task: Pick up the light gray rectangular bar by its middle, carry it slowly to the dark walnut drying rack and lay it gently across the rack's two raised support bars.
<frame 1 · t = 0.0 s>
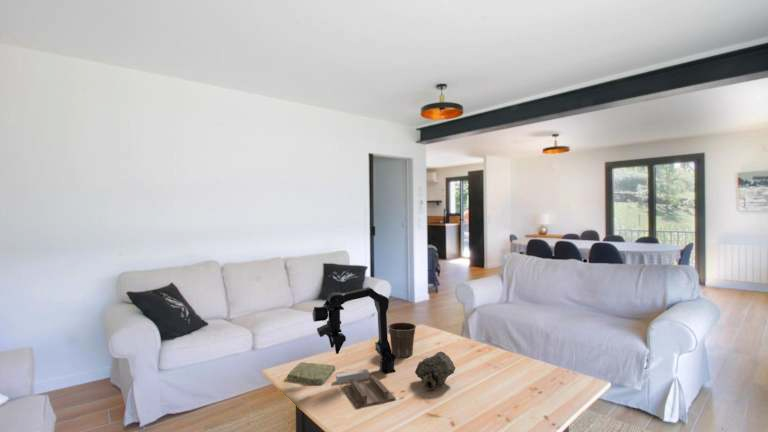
hand: (334, 350, 191), 15 cm above the table, tool pointing down, fingers open, 9 cm apart
walnut rack: (368, 393, 177), on the table
plant pot: (402, 354, 225), on the table
rock: (432, 385, 185), on the table
decorative tile: (311, 376, 197), on the table
light gray rectangular bar: (352, 380, 192), on the table
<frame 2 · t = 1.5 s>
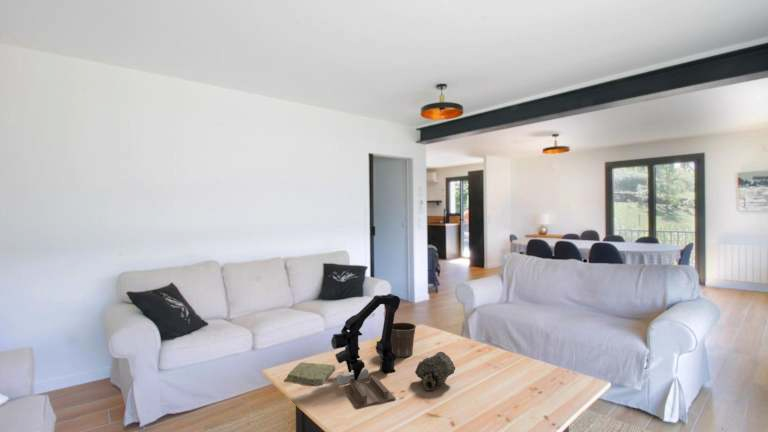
hand: (352, 376, 192), 2 cm above the table, tool pointing down, fingers open, 9 cm apart
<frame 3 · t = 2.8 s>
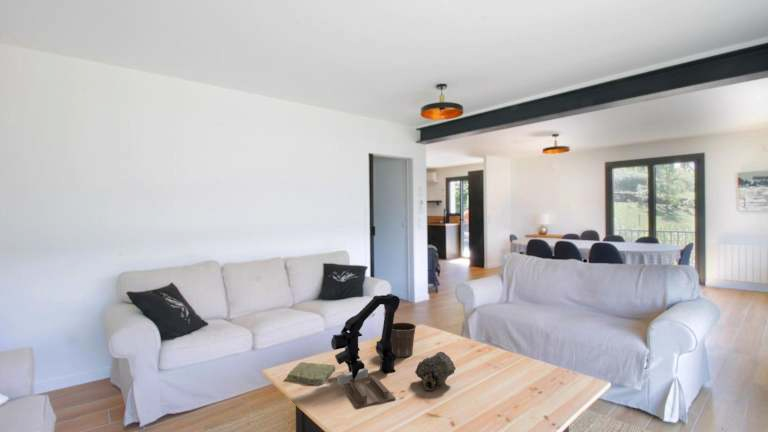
hand: (352, 377, 192), 1 cm above the table, tool pointing down, fingers closed on light gray rectangular bar, 4 cm apart
light gray rectangular bar: (352, 379, 192), on the table, touching gripper
everything else where it was.
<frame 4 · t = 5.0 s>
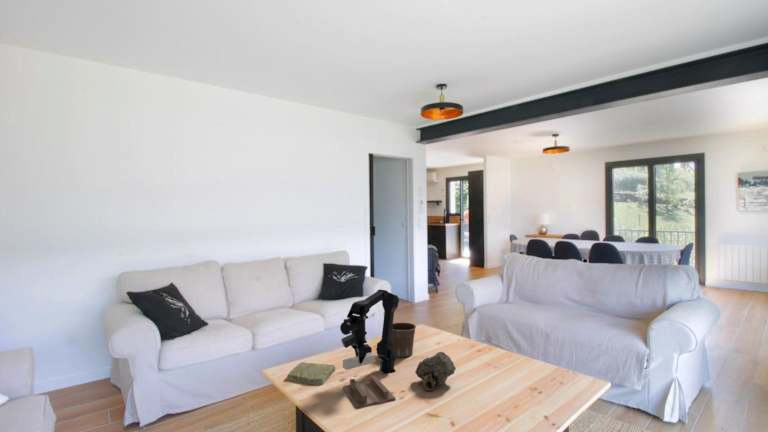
hand: (359, 362, 184), 12 cm above the table, tool pointing down, fingers closed on light gray rectangular bar, 4 cm apart
light gray rectangular bar: (359, 364, 184), point 10 cm above the table, touching gripper
everything else where it was.
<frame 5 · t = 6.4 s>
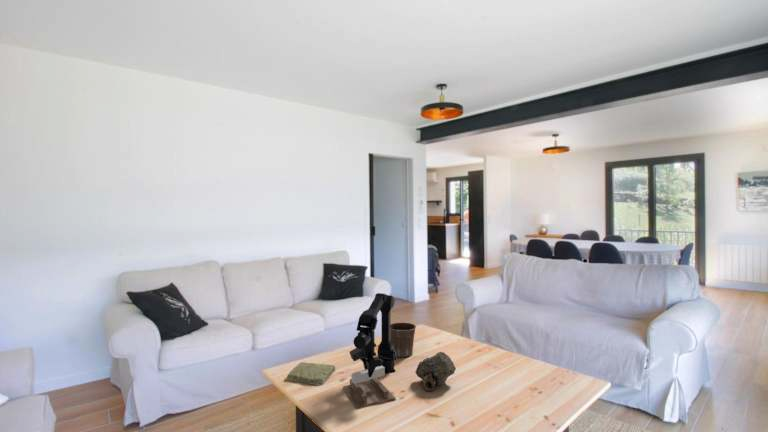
hand: (368, 375, 177), 9 cm above the table, tool pointing down, fingers closed on light gray rectangular bar, 4 cm apart
light gray rectangular bar: (368, 378, 177), point 7 cm above the table, touching gripper
everything else where it was.
when the fingers open (6 cm above the table, at t = 7.5 s): light gray rectangular bar drops 1 cm, resting on walnut rack.
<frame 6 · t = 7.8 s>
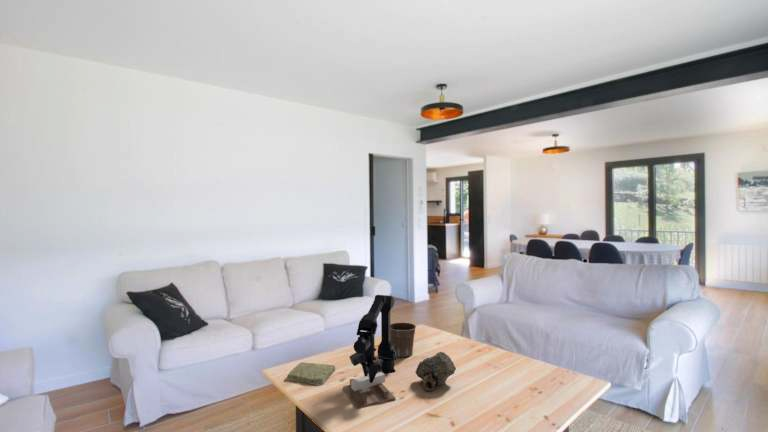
hand: (368, 379, 177), 6 cm above the table, tool pointing down, fingers open, 6 cm apart
light gray rectangular bar: (368, 385, 177), point 4 cm above the table, touching walnut rack
everything else where it was.
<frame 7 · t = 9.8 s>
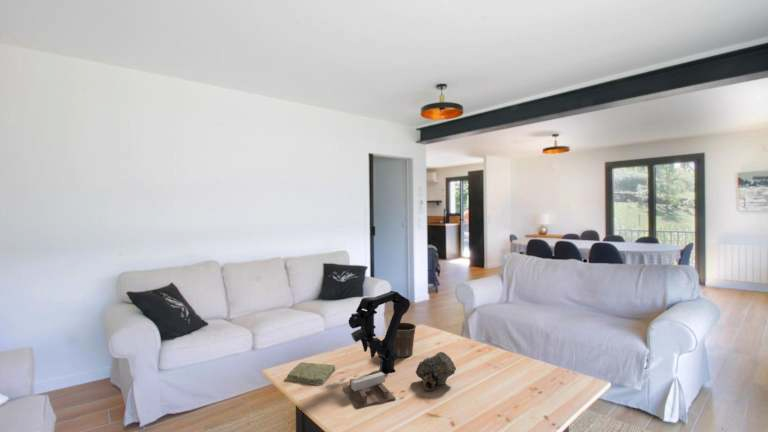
hand: (368, 354, 193), 12 cm above the table, tool pointing down, fingers open, 9 cm apart
nothing on the table moved.
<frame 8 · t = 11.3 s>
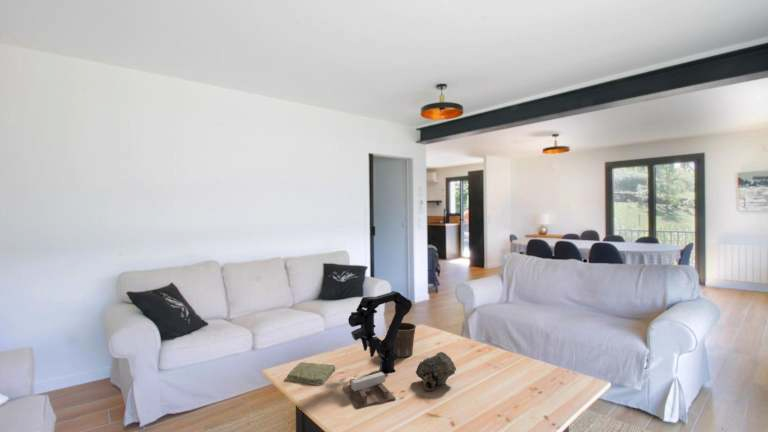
hand: (368, 353, 194), 12 cm above the table, tool pointing down, fingers open, 9 cm apart
nothing on the table moved.
at the end: light gray rectangular bar inside the target area on the walnut rack (0.0 cm from its centre), point 4.0 cm above the walnut rack's base; light gray rectangular bar tilted 0°; the gripper is holding nothing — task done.
